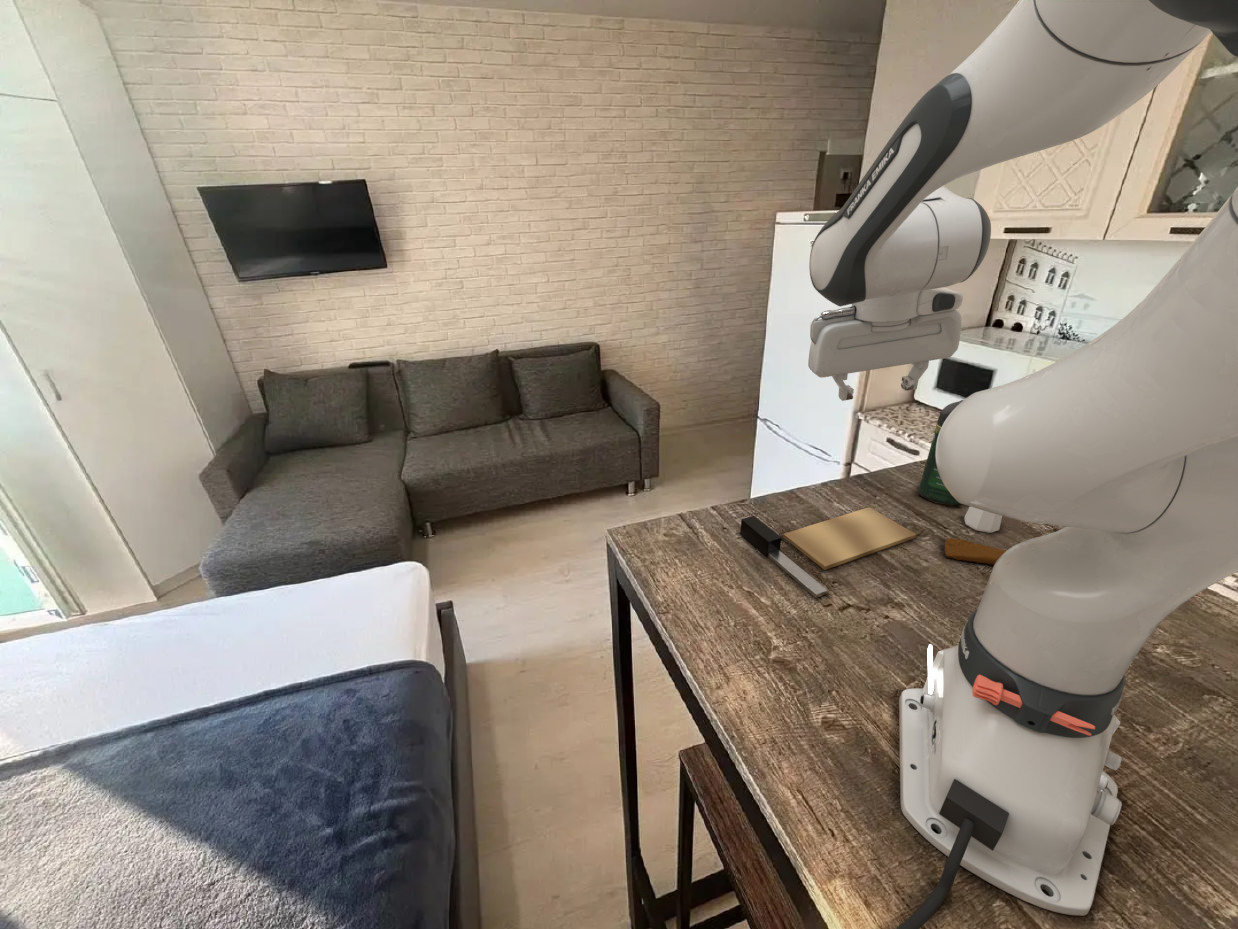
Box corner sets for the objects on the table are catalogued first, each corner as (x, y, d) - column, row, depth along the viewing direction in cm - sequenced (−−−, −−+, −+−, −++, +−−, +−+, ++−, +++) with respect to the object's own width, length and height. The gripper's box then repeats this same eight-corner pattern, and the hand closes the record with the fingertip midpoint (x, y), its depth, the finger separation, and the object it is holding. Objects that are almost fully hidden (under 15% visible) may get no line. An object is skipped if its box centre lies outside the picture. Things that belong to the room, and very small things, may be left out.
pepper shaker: (958, 524, 90) (976, 469, 85) (968, 513, 94) (986, 459, 89) (994, 537, 87) (1014, 480, 82) (1003, 524, 90) (1023, 469, 85)
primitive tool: (944, 557, 82) (950, 539, 81) (944, 539, 87) (949, 522, 85) (1097, 593, 74) (1107, 574, 72) (1088, 572, 78) (1097, 553, 76)
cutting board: (824, 570, 80) (825, 566, 80) (782, 537, 89) (783, 533, 88) (915, 538, 87) (916, 534, 87) (868, 510, 96) (869, 506, 95)
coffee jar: (958, 511, 94) (988, 418, 86) (912, 497, 99) (936, 407, 91) (971, 491, 100) (1000, 402, 92) (927, 479, 105) (951, 393, 97)
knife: (828, 594, 76) (831, 577, 74) (814, 599, 75) (817, 582, 73) (752, 530, 91) (753, 515, 89) (739, 534, 90) (741, 519, 89)
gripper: (819, 318, 68) (815, 413, 74) (976, 293, 67) (957, 391, 74) (803, 308, 73) (800, 396, 80) (947, 284, 72) (932, 376, 79)
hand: (877, 393), depth 77 cm, fingers open, 8 cm apart
